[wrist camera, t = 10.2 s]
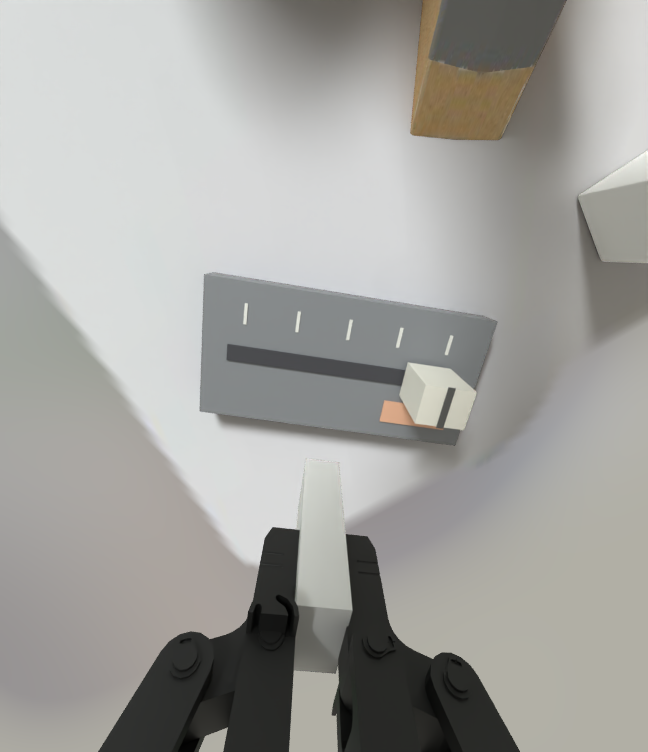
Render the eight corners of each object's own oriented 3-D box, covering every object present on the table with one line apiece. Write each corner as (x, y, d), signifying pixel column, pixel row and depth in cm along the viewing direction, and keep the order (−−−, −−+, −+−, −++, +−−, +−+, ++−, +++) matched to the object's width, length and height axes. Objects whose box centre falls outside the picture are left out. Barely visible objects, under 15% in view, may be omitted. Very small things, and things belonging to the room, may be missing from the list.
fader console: (213, 272, 33) (203, 274, 30) (483, 316, 35) (498, 322, 32) (208, 399, 38) (198, 412, 35) (445, 431, 40) (455, 446, 37)
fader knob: (407, 361, 33) (426, 384, 27) (450, 367, 33) (478, 391, 28) (398, 396, 34) (414, 425, 29) (440, 402, 35) (464, 431, 29)
